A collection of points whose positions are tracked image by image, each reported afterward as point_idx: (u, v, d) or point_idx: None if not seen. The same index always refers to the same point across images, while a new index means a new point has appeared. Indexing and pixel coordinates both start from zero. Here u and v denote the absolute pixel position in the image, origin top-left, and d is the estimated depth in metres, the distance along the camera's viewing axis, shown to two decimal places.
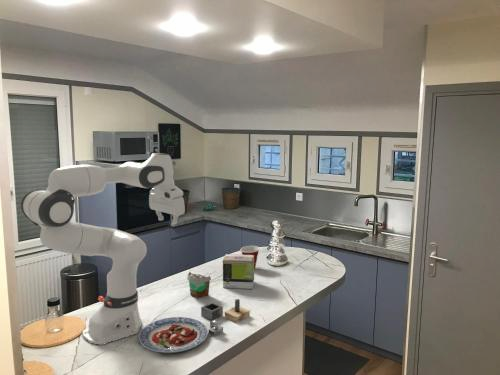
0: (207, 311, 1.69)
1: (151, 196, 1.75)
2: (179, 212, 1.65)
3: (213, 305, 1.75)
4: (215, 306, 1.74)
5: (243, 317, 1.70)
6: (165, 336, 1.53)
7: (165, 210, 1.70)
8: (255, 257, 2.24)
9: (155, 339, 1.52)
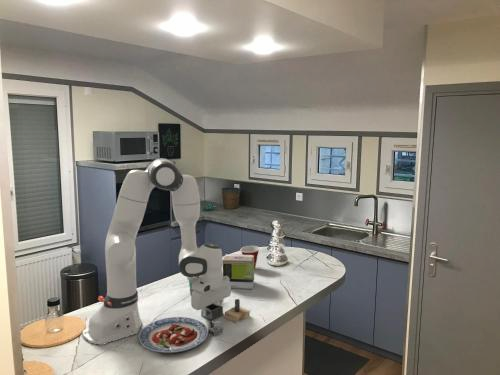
0: None
1: None
2: (192, 305, 1.65)
3: (213, 305, 1.75)
4: (215, 306, 1.74)
5: (243, 317, 1.70)
6: (165, 336, 1.53)
7: None
8: (255, 257, 2.24)
9: (155, 339, 1.52)
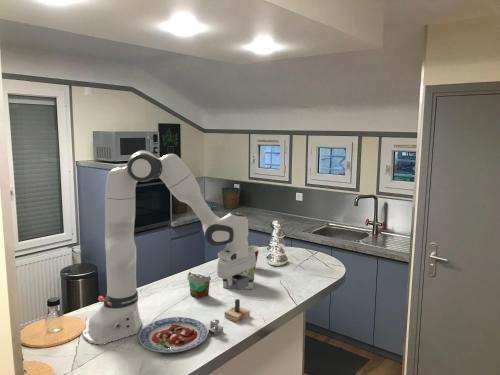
0: None
1: None
2: (218, 274, 1.62)
3: (238, 276, 1.72)
4: (240, 276, 1.71)
5: (243, 317, 1.70)
6: (165, 336, 1.53)
7: None
8: None
9: (155, 339, 1.52)
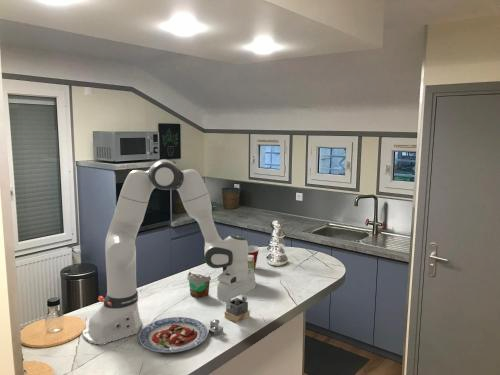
0: (232, 306, 1.68)
1: None
2: (218, 297, 1.63)
3: None
4: (240, 302, 1.73)
5: (243, 317, 1.70)
6: (165, 336, 1.53)
7: None
8: (255, 257, 2.24)
9: (155, 339, 1.52)
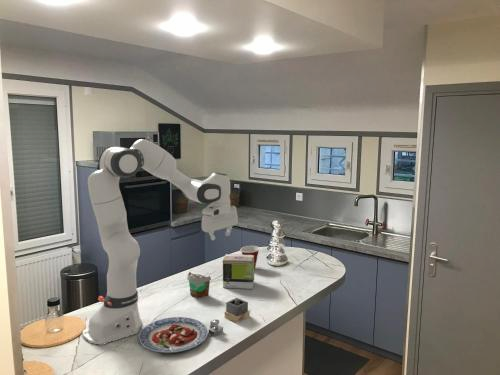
0: (232, 306, 1.68)
1: None
2: (202, 228, 1.78)
3: None
4: (240, 302, 1.73)
5: (243, 317, 1.70)
6: (165, 336, 1.53)
7: None
8: (255, 257, 2.24)
9: (155, 339, 1.52)
